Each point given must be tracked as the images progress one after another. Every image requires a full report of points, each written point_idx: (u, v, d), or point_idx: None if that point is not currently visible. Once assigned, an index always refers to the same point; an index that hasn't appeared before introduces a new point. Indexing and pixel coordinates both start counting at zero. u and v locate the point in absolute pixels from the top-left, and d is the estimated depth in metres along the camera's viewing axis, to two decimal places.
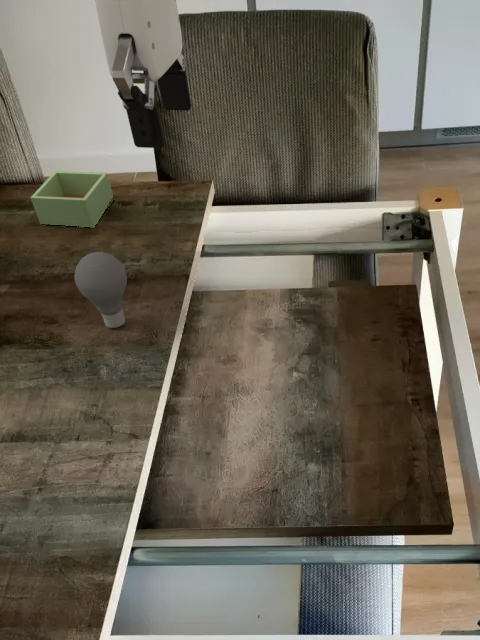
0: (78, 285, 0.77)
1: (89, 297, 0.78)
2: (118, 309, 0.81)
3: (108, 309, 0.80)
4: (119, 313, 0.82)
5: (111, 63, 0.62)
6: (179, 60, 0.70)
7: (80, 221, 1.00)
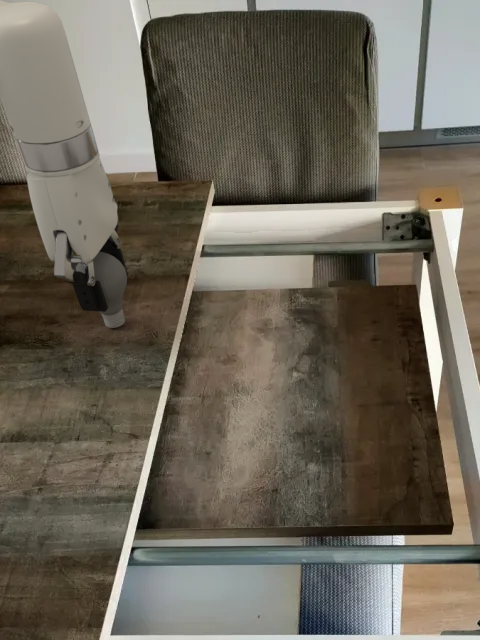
0: None
1: None
2: (118, 309, 0.81)
3: (108, 309, 0.80)
4: (119, 313, 0.82)
5: (48, 250, 0.71)
6: (114, 238, 0.78)
7: None
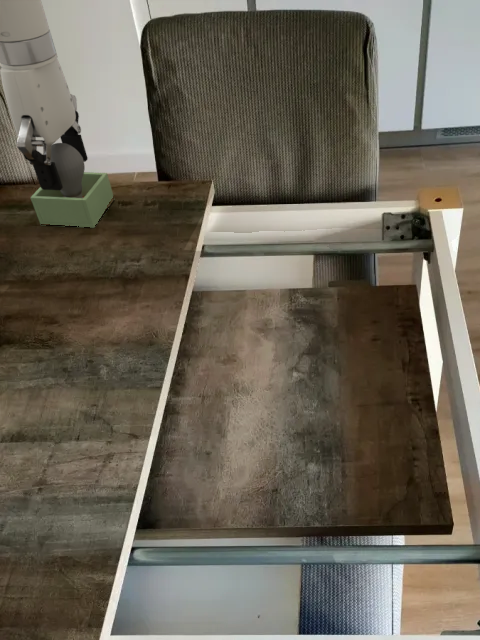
0: None
1: None
2: (78, 192, 1.01)
3: (69, 191, 1.00)
4: (79, 196, 1.01)
5: (18, 133, 0.90)
6: (74, 127, 0.98)
7: (80, 221, 1.00)
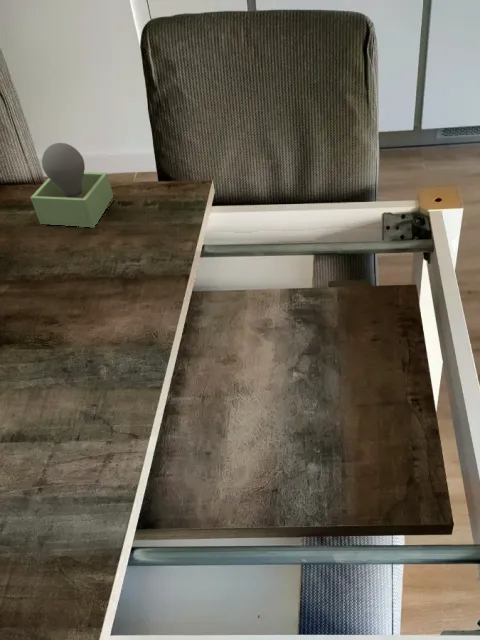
0: (44, 168, 0.97)
1: (53, 179, 0.97)
2: (78, 192, 1.01)
3: (70, 191, 1.00)
4: (79, 196, 1.01)
5: None
6: None
7: (80, 221, 1.00)
